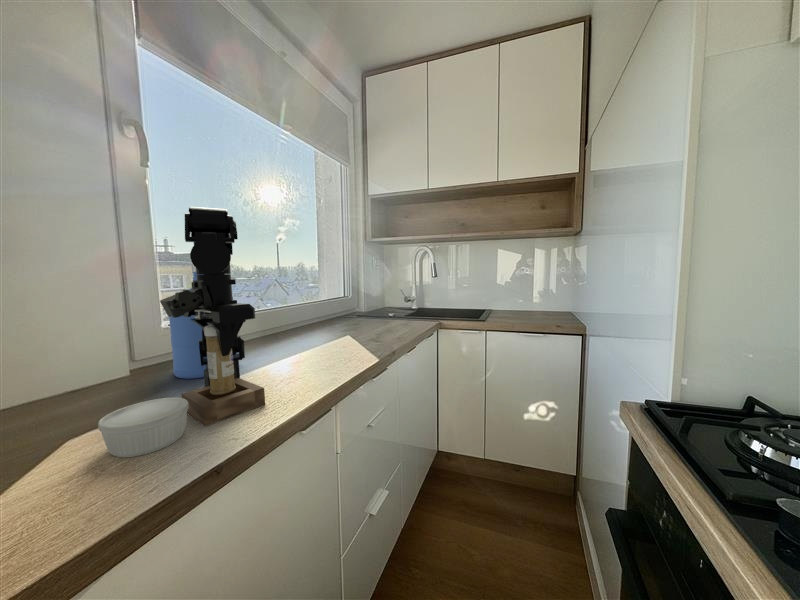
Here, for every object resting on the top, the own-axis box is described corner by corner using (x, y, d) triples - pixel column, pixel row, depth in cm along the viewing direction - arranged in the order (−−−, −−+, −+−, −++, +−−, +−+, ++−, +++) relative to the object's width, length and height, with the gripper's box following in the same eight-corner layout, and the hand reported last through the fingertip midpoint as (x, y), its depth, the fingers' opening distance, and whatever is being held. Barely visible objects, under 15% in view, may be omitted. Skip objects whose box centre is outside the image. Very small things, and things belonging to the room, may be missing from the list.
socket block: (239, 393, 70) (238, 377, 69) (265, 404, 63) (264, 387, 63) (182, 410, 61) (181, 393, 61) (205, 426, 54) (203, 407, 54)
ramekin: (127, 431, 54) (124, 401, 53) (200, 421, 57) (198, 393, 56) (81, 469, 43) (77, 433, 43) (174, 454, 46) (171, 420, 46)
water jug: (250, 366, 91) (243, 270, 89) (191, 383, 77) (181, 270, 75) (220, 360, 99) (213, 272, 97) (162, 374, 86) (153, 272, 83)
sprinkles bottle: (237, 392, 61) (231, 324, 60) (209, 397, 59) (204, 327, 58) (234, 385, 65) (229, 321, 64) (209, 390, 63) (203, 324, 61)
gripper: (147, 276, 59) (155, 356, 61) (182, 274, 48) (191, 373, 49) (211, 275, 68) (217, 345, 69) (253, 273, 57) (259, 357, 58)
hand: (220, 354), depth 61 cm, fingers closed on sprinkles bottle, 4 cm apart
